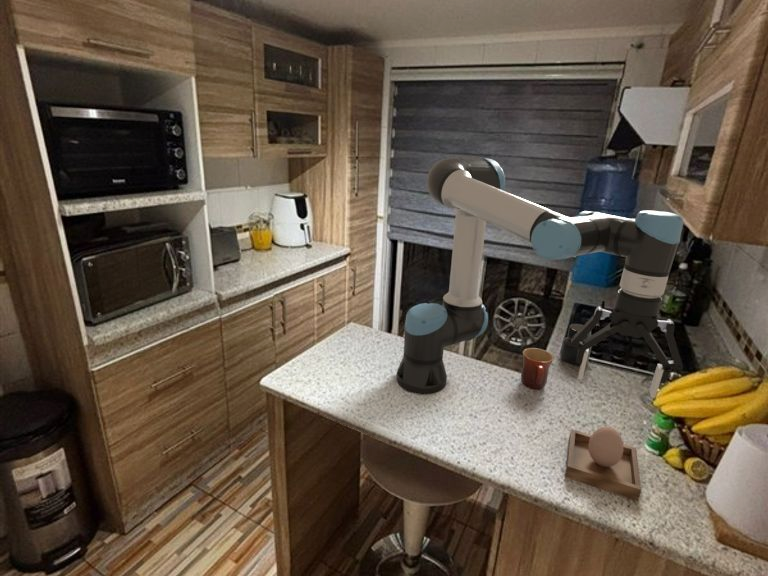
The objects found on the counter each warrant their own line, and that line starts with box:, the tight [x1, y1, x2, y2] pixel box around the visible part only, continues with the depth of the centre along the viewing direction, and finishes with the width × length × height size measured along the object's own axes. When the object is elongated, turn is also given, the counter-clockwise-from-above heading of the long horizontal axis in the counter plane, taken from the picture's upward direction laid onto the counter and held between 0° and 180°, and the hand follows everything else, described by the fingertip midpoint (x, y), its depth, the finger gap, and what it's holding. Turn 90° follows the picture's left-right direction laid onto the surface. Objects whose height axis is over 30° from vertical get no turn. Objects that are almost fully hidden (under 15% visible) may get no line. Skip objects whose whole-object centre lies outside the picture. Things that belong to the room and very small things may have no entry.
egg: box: [588, 425, 624, 467], centre depth 93 cm, size 7×7×10 cm
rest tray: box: [564, 428, 642, 502], centre depth 94 cm, size 14×14×3 cm
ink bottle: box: [559, 323, 593, 367], centre depth 140 cm, size 10×9×12 cm
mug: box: [520, 347, 555, 391], centre depth 123 cm, size 12×9×10 cm
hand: (615, 385), depth 89 cm, fingers open, 13 cm apart
